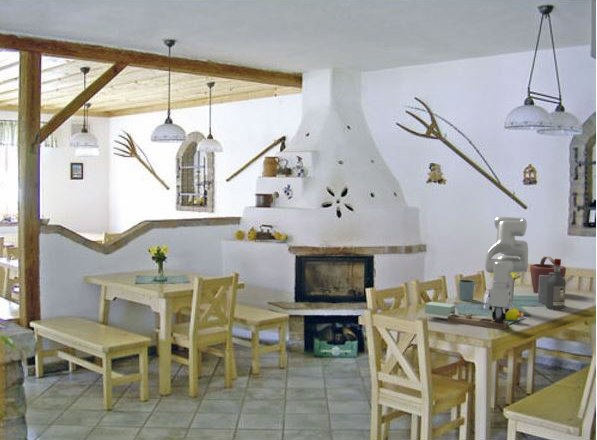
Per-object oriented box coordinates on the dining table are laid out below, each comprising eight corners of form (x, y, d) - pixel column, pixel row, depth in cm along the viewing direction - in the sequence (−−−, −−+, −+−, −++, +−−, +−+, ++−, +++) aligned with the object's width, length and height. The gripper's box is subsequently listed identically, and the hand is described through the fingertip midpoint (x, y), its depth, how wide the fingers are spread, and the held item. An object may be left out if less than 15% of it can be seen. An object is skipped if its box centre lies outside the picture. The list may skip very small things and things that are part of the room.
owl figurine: (512, 311, 355) (485, 308, 365) (512, 328, 356) (485, 324, 366) (533, 304, 377) (506, 301, 387) (532, 320, 377) (506, 316, 387)
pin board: (452, 318, 374) (453, 310, 374) (508, 326, 359) (508, 318, 359) (447, 321, 367) (447, 313, 366) (503, 329, 351) (504, 321, 351)
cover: (430, 310, 381) (430, 301, 381) (455, 313, 374) (455, 304, 373) (424, 313, 373) (425, 304, 373) (449, 316, 366) (450, 307, 366)
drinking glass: (468, 297, 439) (469, 279, 439) (477, 300, 430) (478, 281, 429) (454, 298, 436) (455, 279, 436) (463, 301, 427) (464, 282, 426)
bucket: (566, 297, 450) (568, 259, 448) (530, 295, 455) (532, 258, 453) (560, 291, 474) (562, 255, 472) (527, 289, 479) (529, 253, 477)
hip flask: (564, 306, 419) (566, 273, 418) (562, 307, 416) (564, 274, 415) (538, 302, 430) (540, 270, 428) (536, 303, 426) (538, 271, 425)
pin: (495, 320, 360) (496, 305, 359) (503, 322, 358) (504, 306, 357) (493, 322, 356) (494, 307, 356) (501, 323, 354) (502, 308, 354)
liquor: (543, 307, 412) (546, 258, 410) (555, 306, 416) (557, 258, 414) (555, 310, 404) (557, 260, 402) (566, 309, 408) (569, 259, 406)
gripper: (518, 286, 355) (516, 320, 356) (486, 282, 363) (484, 316, 365) (514, 288, 348) (513, 323, 350) (482, 284, 357) (480, 319, 358)
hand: (498, 319), depth 357 cm, fingers closed on pin, 3 cm apart
